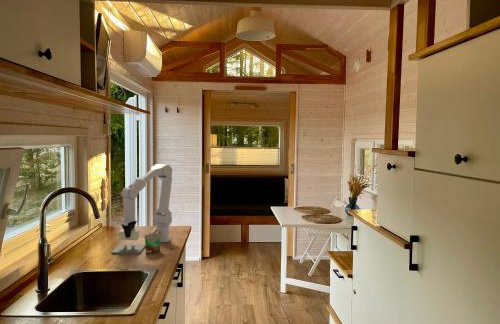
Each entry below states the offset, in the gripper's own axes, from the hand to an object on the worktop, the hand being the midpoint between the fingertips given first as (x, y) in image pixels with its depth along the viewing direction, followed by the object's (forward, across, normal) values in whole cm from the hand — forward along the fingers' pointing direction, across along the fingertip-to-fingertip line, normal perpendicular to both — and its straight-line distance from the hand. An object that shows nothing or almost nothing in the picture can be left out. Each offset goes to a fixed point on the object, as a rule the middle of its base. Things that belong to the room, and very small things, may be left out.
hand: (129, 236), depth 193 cm
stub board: (+7, 0, 0) cm, 7 cm away
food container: (+8, +2, +14) cm, 16 cm away
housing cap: (+1, 0, 0) cm, 1 cm away
